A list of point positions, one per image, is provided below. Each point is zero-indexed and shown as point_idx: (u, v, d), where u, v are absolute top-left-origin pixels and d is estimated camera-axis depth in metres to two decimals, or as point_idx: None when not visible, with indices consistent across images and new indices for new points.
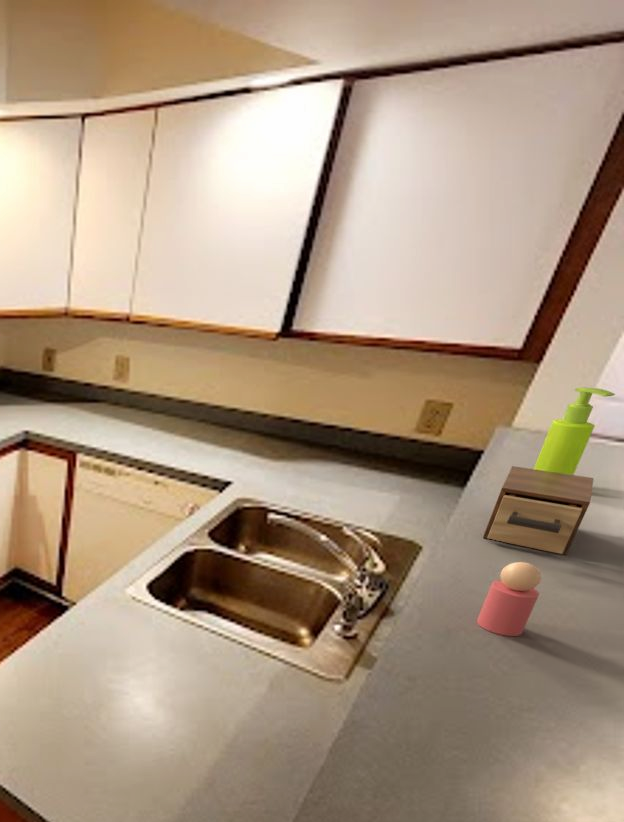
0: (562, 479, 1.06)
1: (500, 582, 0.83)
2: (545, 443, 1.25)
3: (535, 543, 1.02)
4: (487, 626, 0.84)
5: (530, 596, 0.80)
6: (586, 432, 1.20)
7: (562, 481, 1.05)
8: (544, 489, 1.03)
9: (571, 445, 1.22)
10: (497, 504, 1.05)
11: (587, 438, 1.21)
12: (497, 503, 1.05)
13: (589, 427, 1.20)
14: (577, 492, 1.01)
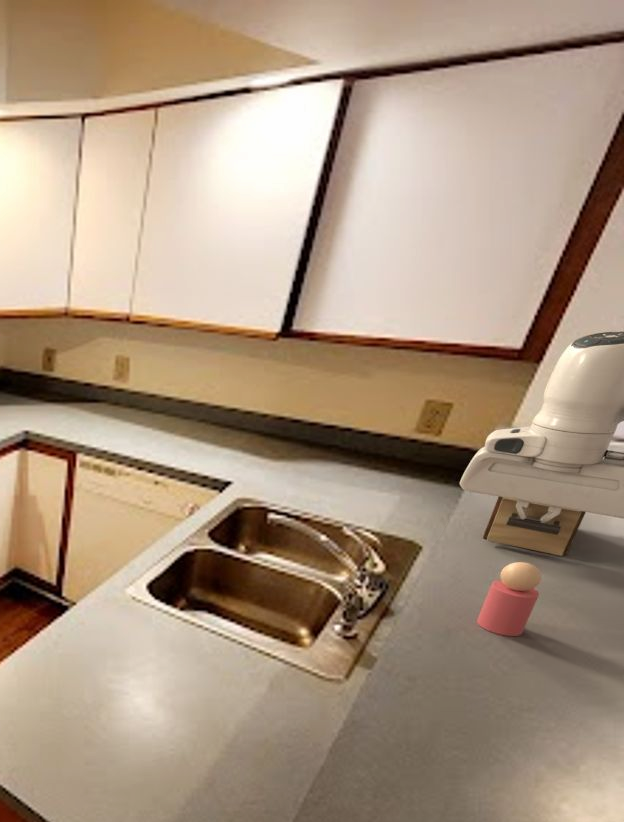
0: None
1: (500, 582, 0.83)
2: None
3: (535, 545, 1.01)
4: (487, 626, 0.84)
5: (530, 596, 0.80)
6: None
7: None
8: None
9: None
10: (497, 504, 1.05)
11: None
12: (497, 503, 1.05)
13: None
14: None
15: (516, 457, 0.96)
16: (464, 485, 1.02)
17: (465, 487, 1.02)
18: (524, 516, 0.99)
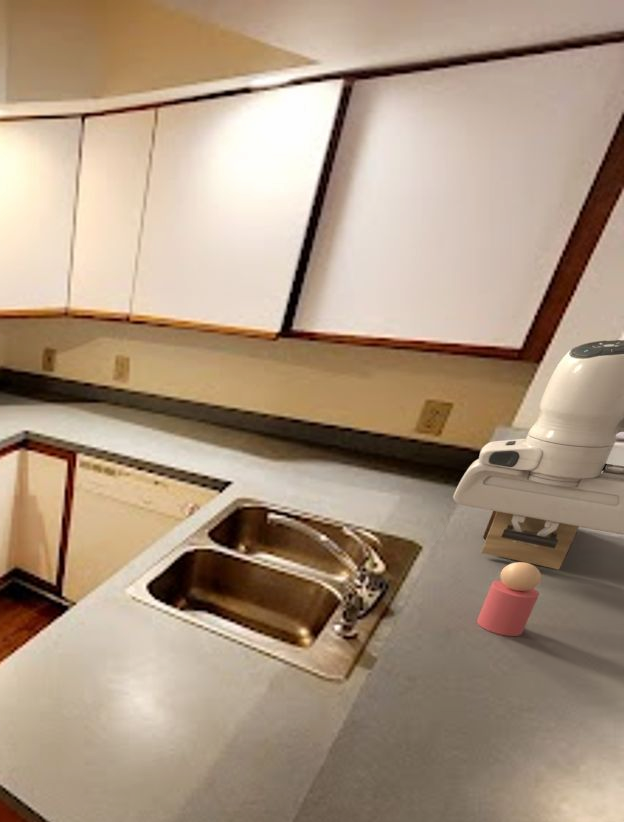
0: None
1: (500, 582, 0.83)
2: None
3: (531, 558, 0.97)
4: (487, 626, 0.84)
5: (530, 596, 0.80)
6: None
7: None
8: None
9: None
10: None
11: None
12: None
13: None
14: None
15: (511, 470, 0.92)
16: (458, 499, 0.99)
17: (459, 501, 0.99)
18: (520, 531, 0.95)
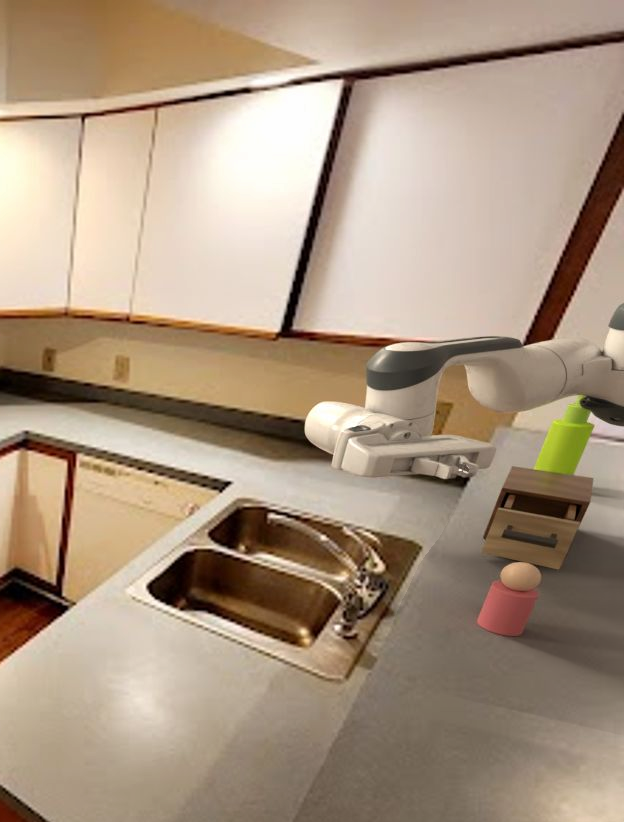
0: (562, 479, 1.06)
1: (500, 582, 0.83)
2: (545, 443, 1.25)
3: (531, 558, 0.97)
4: (487, 626, 0.84)
5: (530, 596, 0.80)
6: (586, 432, 1.20)
7: (562, 481, 1.05)
8: (544, 489, 1.03)
9: (571, 445, 1.22)
10: (497, 504, 1.05)
11: (587, 438, 1.21)
12: (497, 503, 1.05)
13: (589, 427, 1.20)
14: (577, 492, 1.01)
15: (374, 433, 0.97)
16: (373, 453, 0.91)
17: (376, 454, 0.91)
18: (440, 463, 0.89)
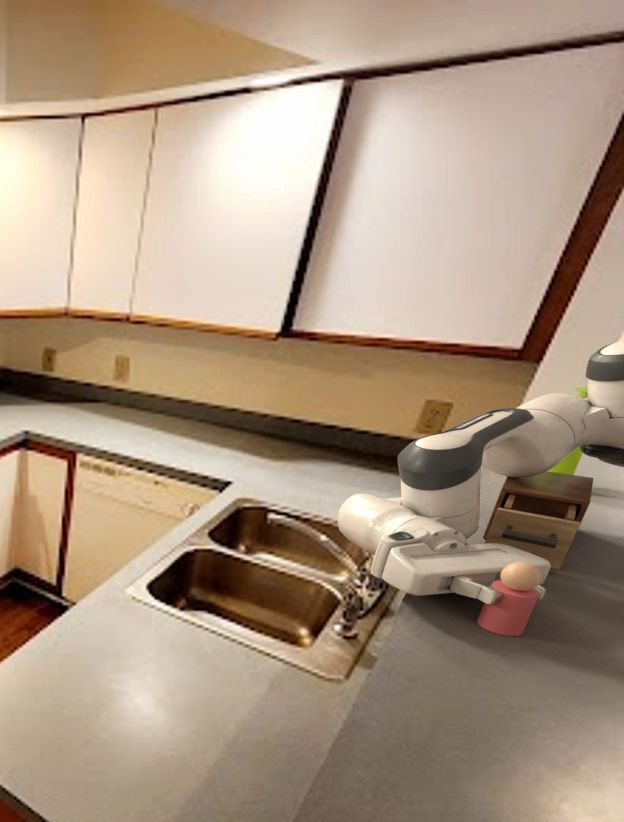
0: (562, 479, 1.06)
1: (500, 582, 0.83)
2: None
3: None
4: (487, 626, 0.84)
5: (531, 596, 0.80)
6: None
7: (562, 481, 1.05)
8: (544, 489, 1.03)
9: None
10: (497, 504, 1.05)
11: None
12: (497, 503, 1.05)
13: None
14: (577, 492, 1.01)
15: (418, 543, 0.91)
16: (419, 571, 0.85)
17: (423, 572, 0.85)
18: (482, 585, 0.83)
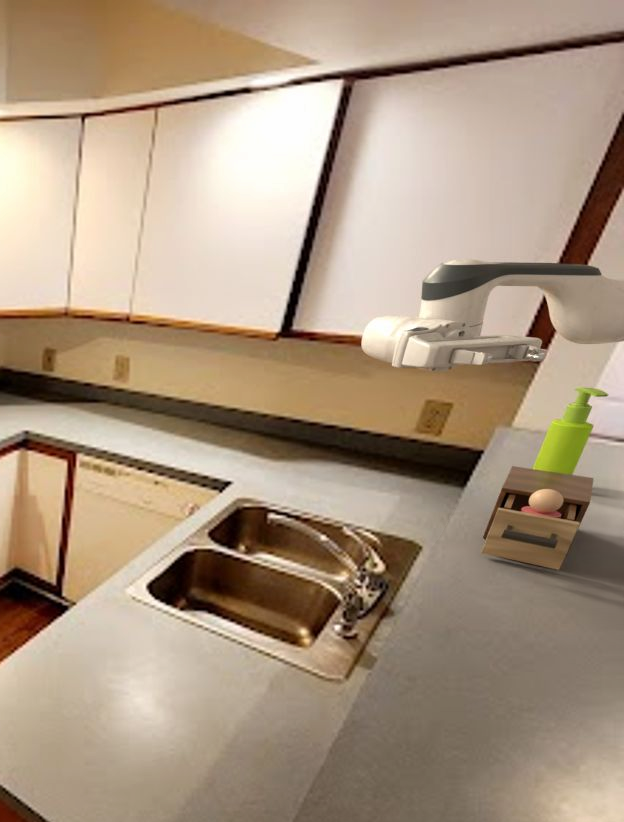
0: (562, 479, 1.06)
1: (528, 507, 1.00)
2: (543, 442, 1.26)
3: (531, 558, 0.97)
4: None
5: (555, 516, 0.97)
6: (579, 432, 1.20)
7: (562, 481, 1.05)
8: None
9: (563, 445, 1.22)
10: (497, 504, 1.05)
11: (582, 439, 1.21)
12: (497, 503, 1.05)
13: (583, 427, 1.20)
14: (577, 492, 1.01)
15: (432, 332, 1.09)
16: (434, 344, 1.04)
17: (437, 345, 1.03)
18: (476, 352, 1.01)
